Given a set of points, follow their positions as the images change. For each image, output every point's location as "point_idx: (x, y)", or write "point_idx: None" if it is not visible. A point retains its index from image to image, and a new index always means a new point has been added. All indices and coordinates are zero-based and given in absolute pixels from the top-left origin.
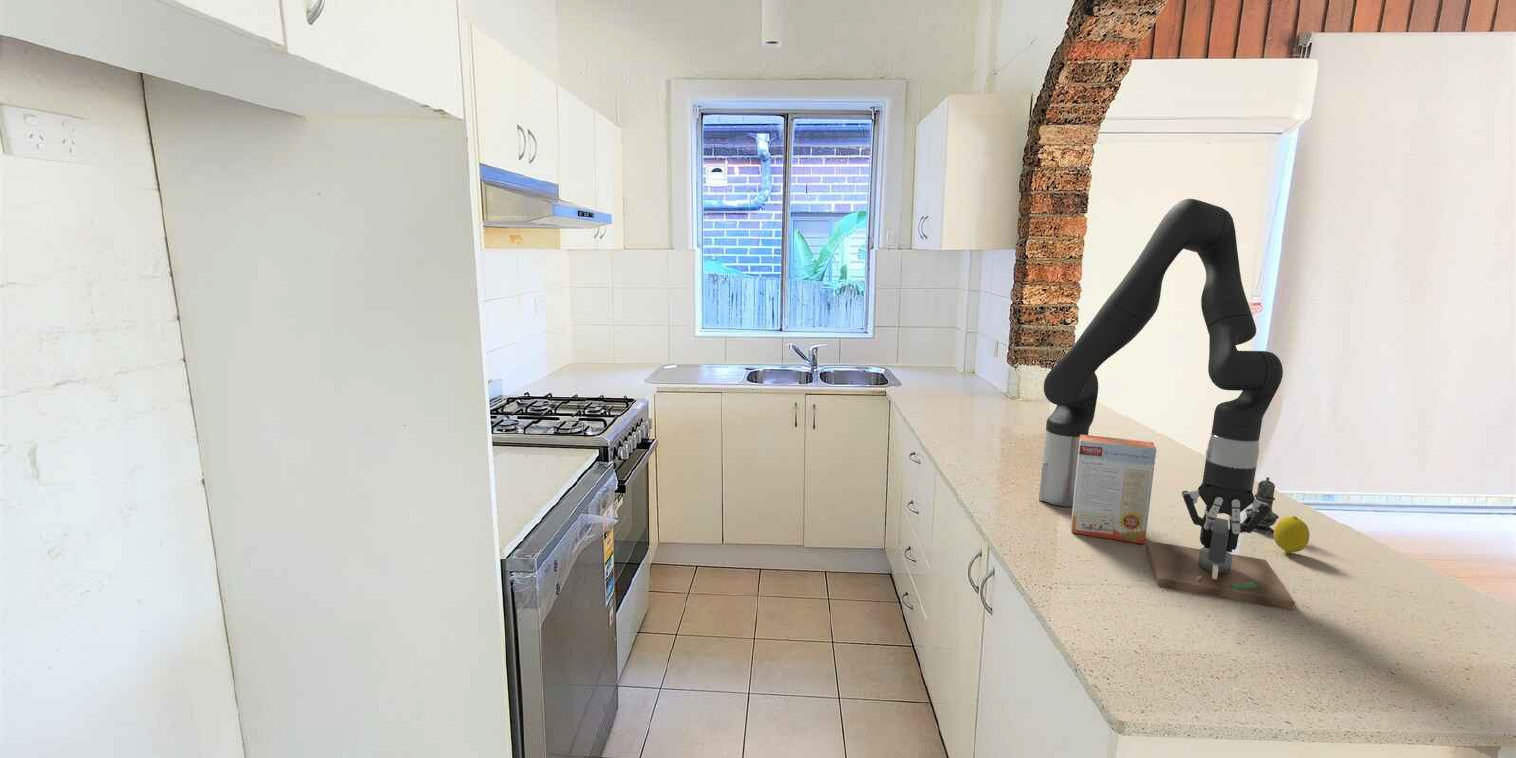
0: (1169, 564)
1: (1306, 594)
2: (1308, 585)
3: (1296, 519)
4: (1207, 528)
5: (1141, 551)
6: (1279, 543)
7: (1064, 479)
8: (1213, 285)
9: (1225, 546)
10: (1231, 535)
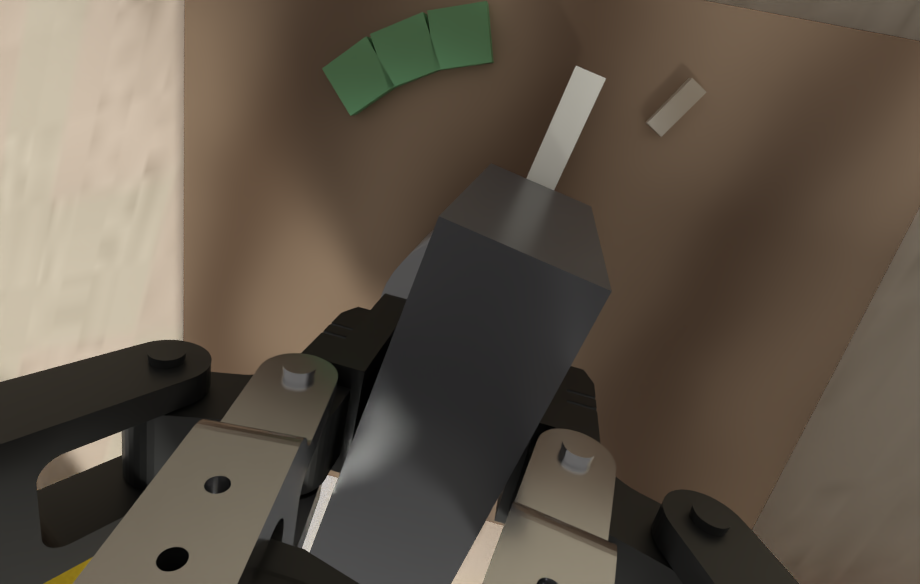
0: (759, 302)
1: (108, 155)
2: (78, 257)
3: None
4: (577, 439)
5: (764, 512)
6: (83, 567)
7: None
8: None
9: (480, 192)
10: (356, 360)
